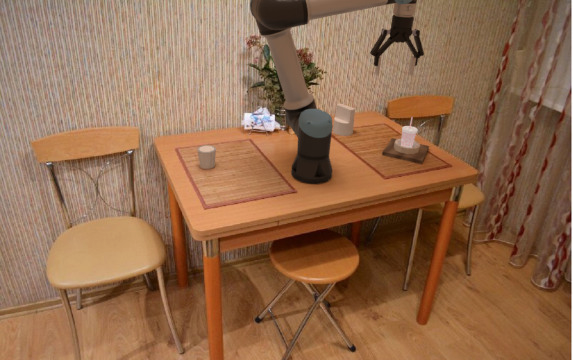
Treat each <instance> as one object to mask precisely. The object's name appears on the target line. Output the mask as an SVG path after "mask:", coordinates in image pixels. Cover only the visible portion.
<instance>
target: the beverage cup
mask: <svg viewBox="0 0 573 360" xmlns="http://www.w3.org/2000/svg"><path fill="white" fill-rule="evenodd" d="M412 123H413V116H411V118H410V123H409V125H405V126H402V127H401V128H402V129H401V130H402V132H401V146H404V147H412V146H413V143H414V140H415V139H416V135H417V133H418V128H417V127H415V126H412Z"/></svg>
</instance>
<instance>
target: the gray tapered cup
mask: <svg viewBox="0 0 573 360" xmlns="http://www.w3.org/2000/svg"><path fill="white" fill-rule="evenodd" d="M196 150H197V158H198V162H199V167H200V168H201V169H203V170H211V169H213V168H215V167H216V166H215V165H216V155H217V153H216V151H217V148H216V146H214V145H212V144H211V145H210V144H202V145H200V146H198V147H197V149H196Z"/></svg>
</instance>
